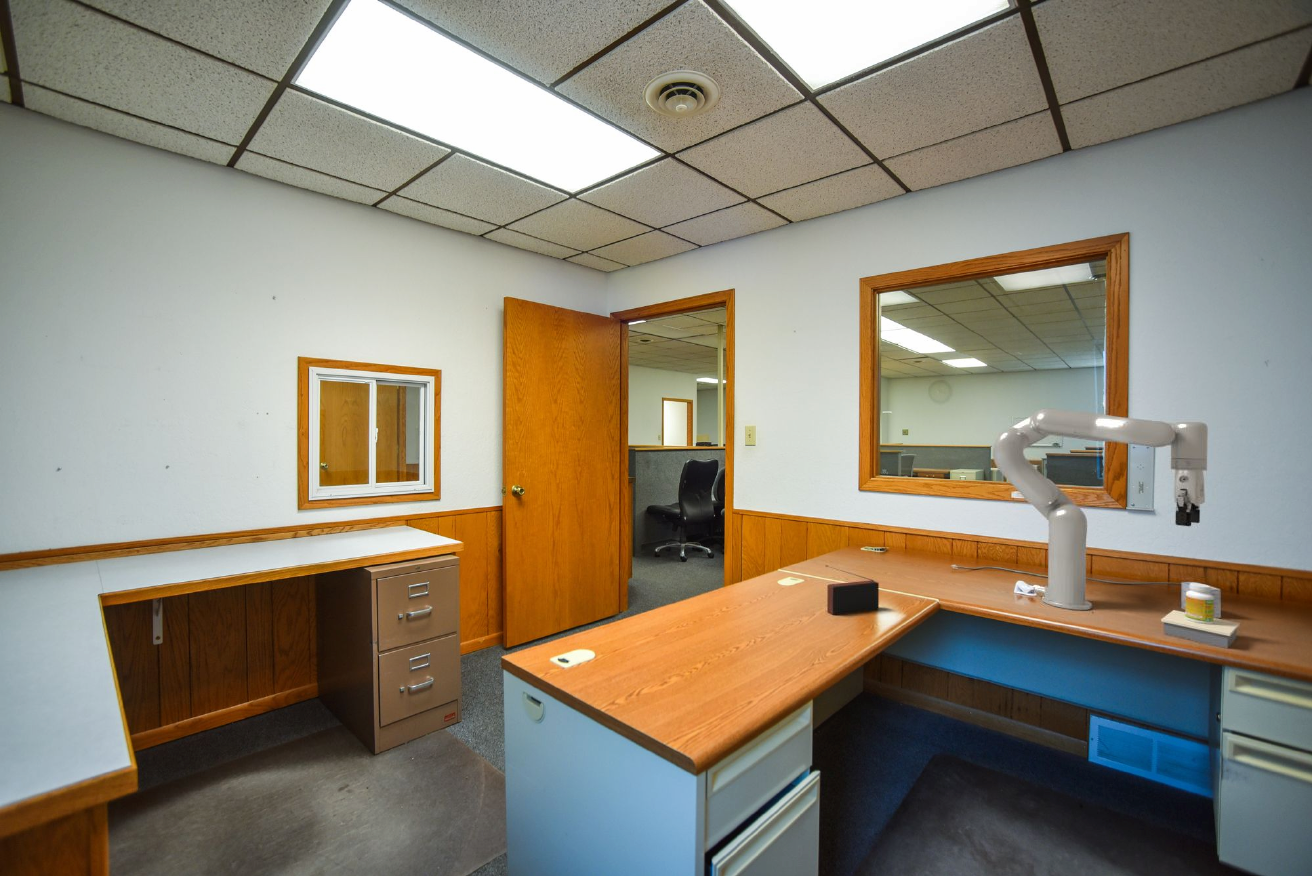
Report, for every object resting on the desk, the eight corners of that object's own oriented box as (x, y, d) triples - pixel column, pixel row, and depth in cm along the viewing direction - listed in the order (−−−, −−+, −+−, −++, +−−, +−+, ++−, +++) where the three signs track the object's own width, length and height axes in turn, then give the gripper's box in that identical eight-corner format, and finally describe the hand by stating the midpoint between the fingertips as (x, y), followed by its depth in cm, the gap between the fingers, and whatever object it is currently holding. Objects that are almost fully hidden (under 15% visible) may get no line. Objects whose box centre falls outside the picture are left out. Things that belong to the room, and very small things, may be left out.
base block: (1160, 633, 148) (1161, 619, 148) (1173, 624, 156) (1173, 610, 156) (1229, 649, 138) (1230, 633, 138) (1239, 638, 145) (1239, 623, 145)
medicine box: (1221, 618, 160) (1221, 589, 160) (1205, 618, 161) (1206, 589, 160) (1195, 609, 168) (1195, 581, 168) (1180, 609, 168) (1180, 581, 168)
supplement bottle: (1208, 625, 143) (1209, 588, 143) (1181, 619, 148) (1182, 583, 148) (1217, 622, 146) (1218, 586, 145) (1190, 616, 150) (1191, 581, 150)
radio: (871, 606, 171) (872, 559, 171) (878, 610, 168) (878, 561, 168) (820, 612, 165) (821, 563, 165) (826, 616, 162) (827, 565, 162)
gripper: (1199, 466, 149) (1198, 529, 150) (1213, 464, 159) (1212, 522, 160) (1162, 465, 156) (1161, 525, 156) (1178, 463, 165) (1178, 519, 166)
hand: (1187, 523), depth 158 cm, fingers open, 9 cm apart
